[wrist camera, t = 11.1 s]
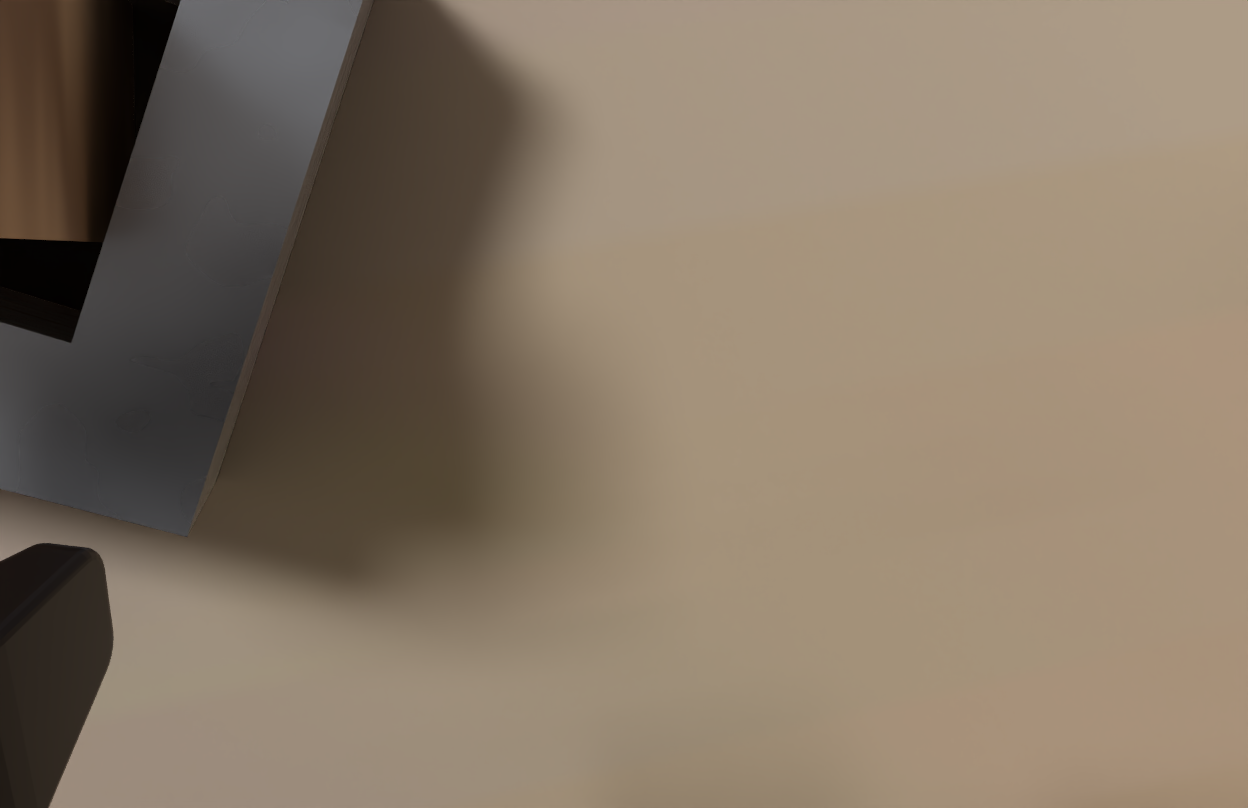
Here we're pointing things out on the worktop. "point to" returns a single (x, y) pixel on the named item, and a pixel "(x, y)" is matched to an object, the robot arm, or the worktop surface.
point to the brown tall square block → (64, 116)
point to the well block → (179, 268)
